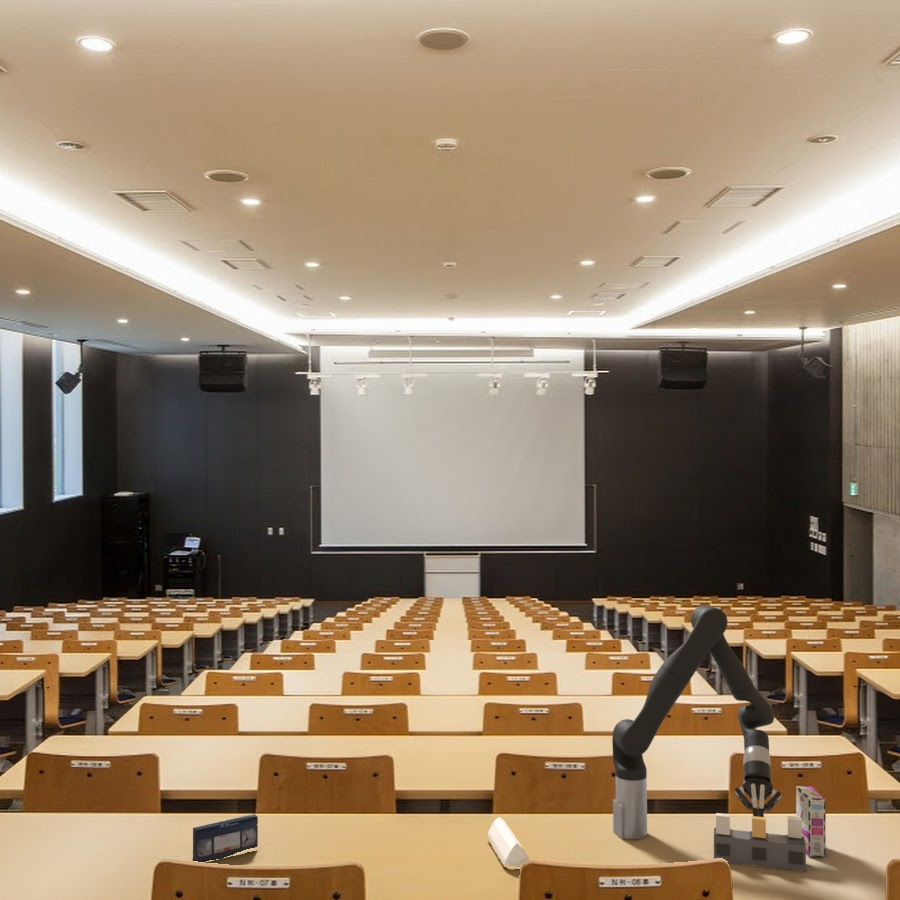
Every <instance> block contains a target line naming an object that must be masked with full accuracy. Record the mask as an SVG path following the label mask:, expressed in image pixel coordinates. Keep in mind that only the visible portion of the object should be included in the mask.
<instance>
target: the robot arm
mask: <svg viewBox="0 0 900 900" xmlns="http://www.w3.org/2000/svg"><path fill="white" fill-rule="evenodd" d="M690 622H691V623H690V624H691V627H692V628H693V629H692V630H691V632H690V634H689V635H688V637H687V638H686V640H685V641H684V643H682V645H680V646H679V647H678V648H677V649H676V650H674V652H672V653H671V654H670V655H669V656H668V657H667V658H666V659H665V660H664V662H663V663H662V664H660V665H661V666H660V667H659V669H658V670H657V672H656V673H655V675H653V677H652V679H651V682H650V684H649V687H648V690H647V691H648V692H647V695H646V699H645V702H644V704H643V706H642V708H641V710H640V711H639V713H638V714H637V716H636V717H635V719H634V720H633V719H629V718H627V719H625V718H624V719H621V720H620V721H619V722H617V723H616V724H615V726H614V728H613V729H612V731H613V732H612V761H613V765H614V771H615V775H614V776H615V778H614V779H615V798H614V799H612V829H613V830H612V832H613V833H615V835H617V836H618V837H619V838H620V839H626V838H627V840H640V839H644V838H646V837H647V836H648V802H647V801H648V798H647V797H648V793H647V792H648V789H647V788H648V787H647V786H648V785H647V784H648V783H647V779H648V778H647V777H648V776H647V774H648V773H647V772H648V771H647V766H646V763H645V761H644V756H643V754H645V753H646V752H647V751H648V749H649V748H650V746H651V744H652V742H653V740H654V738H655V737H656V734H657V732H658V731H659V729H660V728H661V725H662V723H663V722H664V719H666V717H667V716H668V714H669V713H670V711H671V710H672V708H673V706H674V705H675V703H676V702H677V700H678V699H679V698H680V696H681V695H682V694H683V692H684V690H685V689H686V687H687V686H688V684H689V683H690V682H691V679H692V677H693V676H694V675H695V673H696V672H697V670H698V668H699V667H700V666H701V663H702V662H703V661H704V658H705V657H706V655H707V654H708V653H710V655H711V657H712V658H713V660H714V662H715V663H716V665H717V667H718V669H719V672H721V675H722V676H723V678H724V681H725V683H726V685H727V686H728V689H729V691H730V693H731V695H732V696H733V698H734V699H735V700H736V701H737V702H738V701H739V702H748V703H750V704H745V705H742V706H741V707H739V709H738V710H737V719H738V722H739V723H738V724H739V726H740V728H741V732H742V735H743V746H744V747H743V762H742V765H743V782H742V783H741V786H740V787H735V789H734V793H735V796H736V798H738V800H739V801H740V802H741V803H742V805H743V806H744V807H745V808H746V810H751V811H752V816H756V817H765V816H764V813H765V812H770V811H771V809H773V808H774V807H775V805H776V804H777V803H778V802H779V801H780V800H781V797H782V794H781V791H777V790H776V789H774V786H773V784H772V770H771V769H772V767H771V766H772V764H771V756H770V755H771V754H770V740H769V735H768V733H766V731H764V730H761V729H757V728H760V727H767V726H769V725H772V723H774V720H775V711H774V710H773V707H772V706H771V704H770V703H769V702H768V701H767V699H766V698H765V697H764V696H763V695H762V694H761V693H760V691H759V690H758V689H757V687H755V685H754V682H753V680H752V679H751V677H750V674H749V673H748V671H747V670H746V668H745V666H744V665H743V663H742V662H741V660H740V659H739V657H738V656H737V654H736V653H735V652H734V651H733V649H732V647H731V646H730V645H729V642H728V640H727V639H726V637H725V634H724V633H726V630H727V628H728V617H727V615H726V613H725V612H724V611H723V610H722V609H720V608H719V607H715V606H711V605H700V606H697V607H696V608H695V609H693V611H692V613H691V616H690ZM745 794H746V795H747V796H748V797H749V799H750V800H751V801H750V800H749V799H748V797H747V796H745ZM770 795H771V797H770ZM769 797H770V799H769V800H768V801H767V803H765V800H767V799H768V798H769ZM758 802H759V805H758Z"/></svg>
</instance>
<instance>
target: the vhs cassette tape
mask: <svg viewBox="0 0 900 900" xmlns="http://www.w3.org/2000/svg"><path fill="white" fill-rule="evenodd" d="M258 821H259V818H258V815H256V814H255V813H253V814H250V815H244V816H240V817H235V818H231V819H227V820H223V821H222V820H221V821H217V822H213V823H208V824H204V825H201V826H195V827H192V862H193V861H198V862H206V861H209V860H216V859H222V858H224V857H227V856H230V855H233V854H235V853H237V852H241V851H243V850H246V849H250V848H255V847H257V846H258V847H259V844H258V841H259V836H258V835H259V834H258V833H259V832H258V828H259V826H258V823H259V822H258ZM222 860H223V859H222Z"/></svg>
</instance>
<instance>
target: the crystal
mask: <svg viewBox="0 0 900 900" xmlns="http://www.w3.org/2000/svg"><path fill="white" fill-rule="evenodd" d="M487 836H488V837H489V839H490V841H491V842H492V844H493V846H494V848H495V850H496V851H497V853H498V855H499V857H500V858H501V860H502V862H503V864H504V865H509V866H516V867H520V866H521V864H522V863H524V862H526V861H528V860H529V861H530V857H529V856H528V854H527V853H526V851H525V849H524V848H523V847H524V846H523V845H522V844H521V843H520V841H519V840H518V839H517V837H516V836H515V834H514V833H513V831H512V830H511V828H510V826H508V824H507V822H506V821H505V820H504V819H503V818H502V817H500V816H499V817H497V818H496V819H494V820H493V823H492V824H491V826H490V828H489V830H488V832H487Z"/></svg>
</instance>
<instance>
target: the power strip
mask: <svg viewBox="0 0 900 900" xmlns="http://www.w3.org/2000/svg"><path fill="white" fill-rule="evenodd" d="M806 856H807V854H806V844H805V839H804V837H802V838H792V837H788V834H785V835H784V834H777V833H776V834H775V833H768V832H766V838H758V837H752V830H750V831H747V830H746V831H745V830H740V829H739V830H737V829H733V828H730V835H724V834H716V827H714V828H713V859H714V858H723V859H725V860H726V861H728V862H729V863H728V864H734V865H735V864H736V865H743V864H745V865H744V866H752V865H756V866H755V867H760V866H763V867H762V868H769V867H771V869H778V868H779V869H780V868H782V869H781V870H787V869H790V870H789V871H796V870H798V872H807V857H806Z"/></svg>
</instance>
